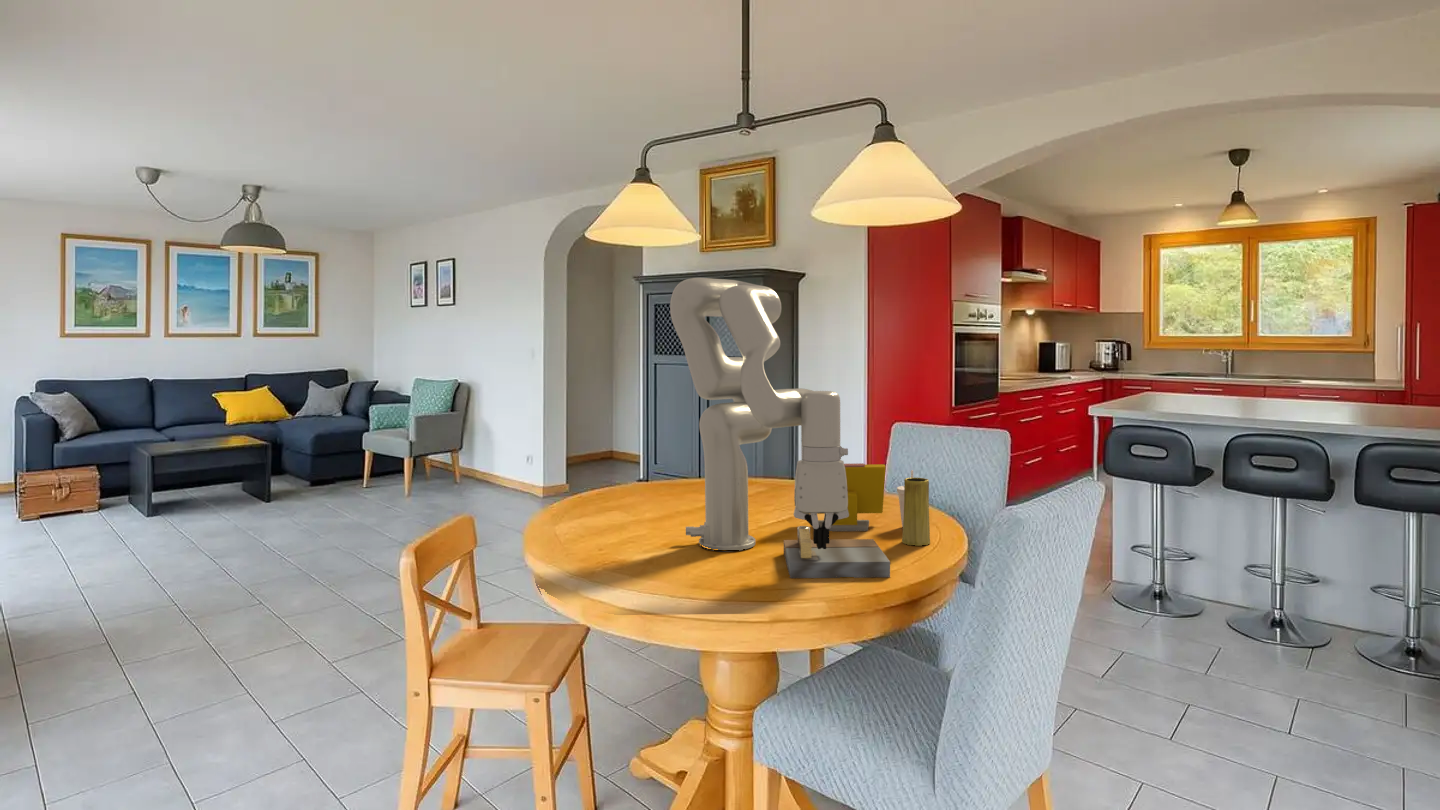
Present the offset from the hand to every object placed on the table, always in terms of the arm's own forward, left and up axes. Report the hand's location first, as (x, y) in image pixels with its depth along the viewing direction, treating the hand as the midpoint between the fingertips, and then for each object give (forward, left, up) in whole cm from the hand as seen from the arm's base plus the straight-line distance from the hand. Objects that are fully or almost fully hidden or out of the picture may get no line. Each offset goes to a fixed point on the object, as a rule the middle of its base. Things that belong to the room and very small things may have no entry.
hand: (821, 547), depth 151 cm
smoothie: (+25, +34, -5) cm, 43 cm away
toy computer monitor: (+9, +35, -5) cm, 37 cm away
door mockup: (+3, +3, -5) cm, 6 cm away
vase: (+23, +20, -5) cm, 31 cm away
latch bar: (-3, +4, -1) cm, 5 cm away
